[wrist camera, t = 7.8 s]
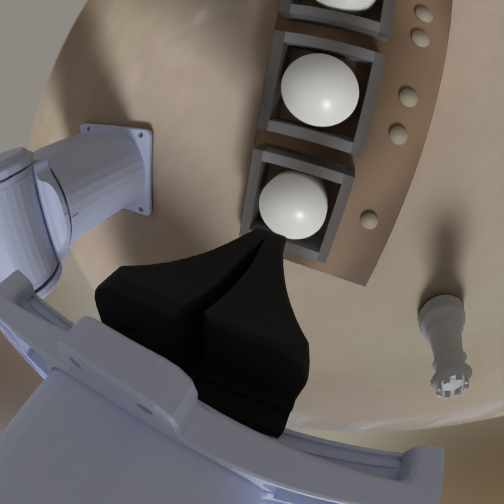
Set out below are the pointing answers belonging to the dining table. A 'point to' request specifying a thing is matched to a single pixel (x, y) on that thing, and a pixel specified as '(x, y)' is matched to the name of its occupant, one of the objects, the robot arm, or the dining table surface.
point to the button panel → (352, 125)
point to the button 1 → (294, 204)
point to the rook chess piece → (446, 343)
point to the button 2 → (347, 6)
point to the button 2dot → (320, 90)
